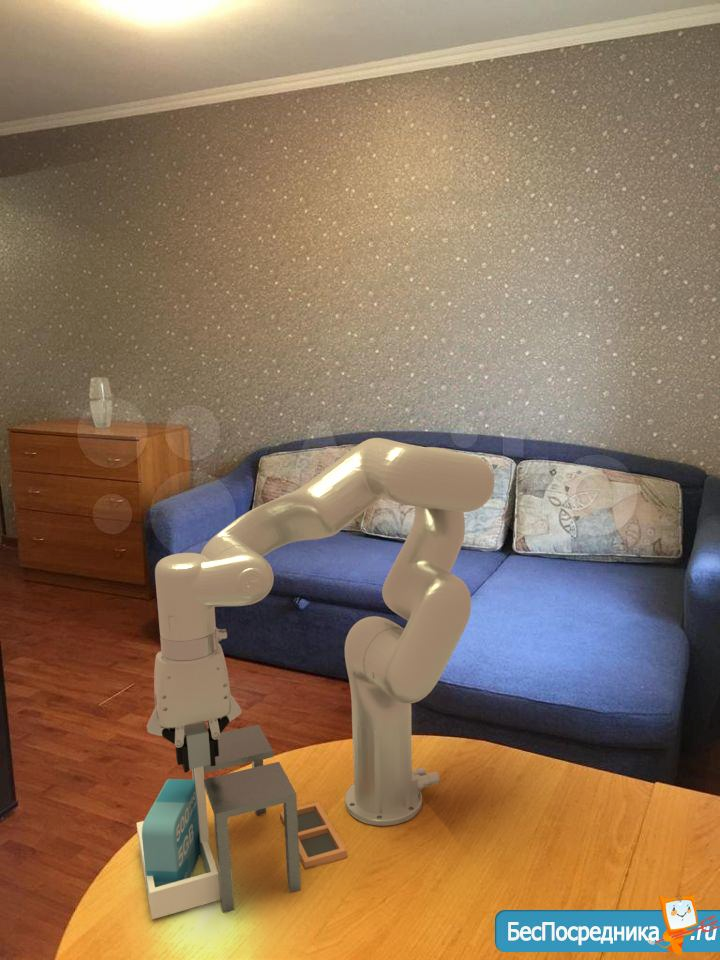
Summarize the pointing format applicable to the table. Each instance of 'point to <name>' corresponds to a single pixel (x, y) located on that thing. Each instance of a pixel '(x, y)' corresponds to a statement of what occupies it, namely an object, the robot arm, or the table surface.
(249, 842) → the table surface
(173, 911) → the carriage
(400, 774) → the robot arm
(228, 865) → the tunnel
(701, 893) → the table surface
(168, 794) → the data package
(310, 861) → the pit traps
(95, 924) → the table surface
